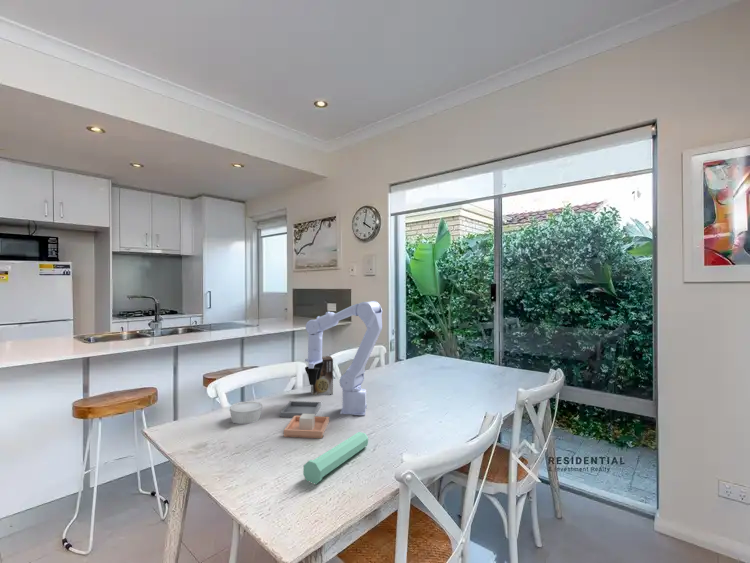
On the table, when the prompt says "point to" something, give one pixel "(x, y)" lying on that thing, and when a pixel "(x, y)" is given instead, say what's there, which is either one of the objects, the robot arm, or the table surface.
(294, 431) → the terracotta tray
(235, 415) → the ramekin
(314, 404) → the grey tray
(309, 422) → the white cube
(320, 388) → the coffee box
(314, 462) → the mint green octagonal prism
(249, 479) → the table surface
